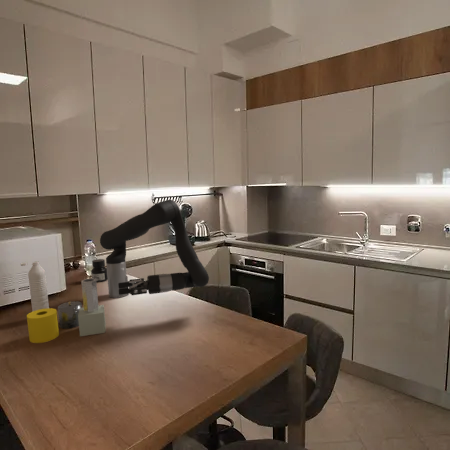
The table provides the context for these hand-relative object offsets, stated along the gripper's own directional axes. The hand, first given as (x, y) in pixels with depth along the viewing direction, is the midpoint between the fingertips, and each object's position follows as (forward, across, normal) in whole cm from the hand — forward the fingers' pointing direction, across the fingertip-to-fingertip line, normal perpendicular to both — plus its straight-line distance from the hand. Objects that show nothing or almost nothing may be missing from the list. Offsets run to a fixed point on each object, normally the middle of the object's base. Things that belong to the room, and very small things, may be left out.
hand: (118, 288), depth 141 cm
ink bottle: (+10, -73, +15) cm, 76 cm away
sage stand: (+11, 0, +15) cm, 19 cm away
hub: (+20, -10, +15) cm, 27 cm away
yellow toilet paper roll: (+28, -1, +15) cm, 32 cm away
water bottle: (+34, -22, +15) cm, 43 cm away
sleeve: (+11, 0, +7) cm, 13 cm away
